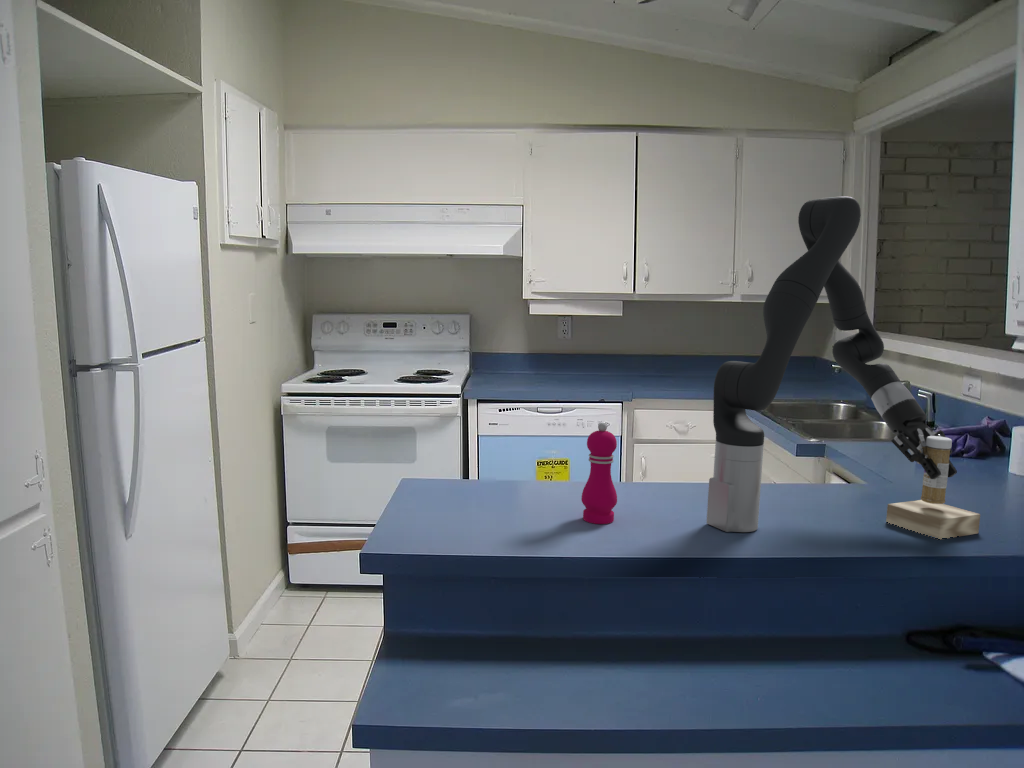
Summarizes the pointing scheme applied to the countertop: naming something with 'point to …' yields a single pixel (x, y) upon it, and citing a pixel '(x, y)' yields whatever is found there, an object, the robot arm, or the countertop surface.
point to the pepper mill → (600, 478)
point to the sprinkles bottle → (940, 456)
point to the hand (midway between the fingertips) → (944, 475)
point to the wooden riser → (933, 519)
